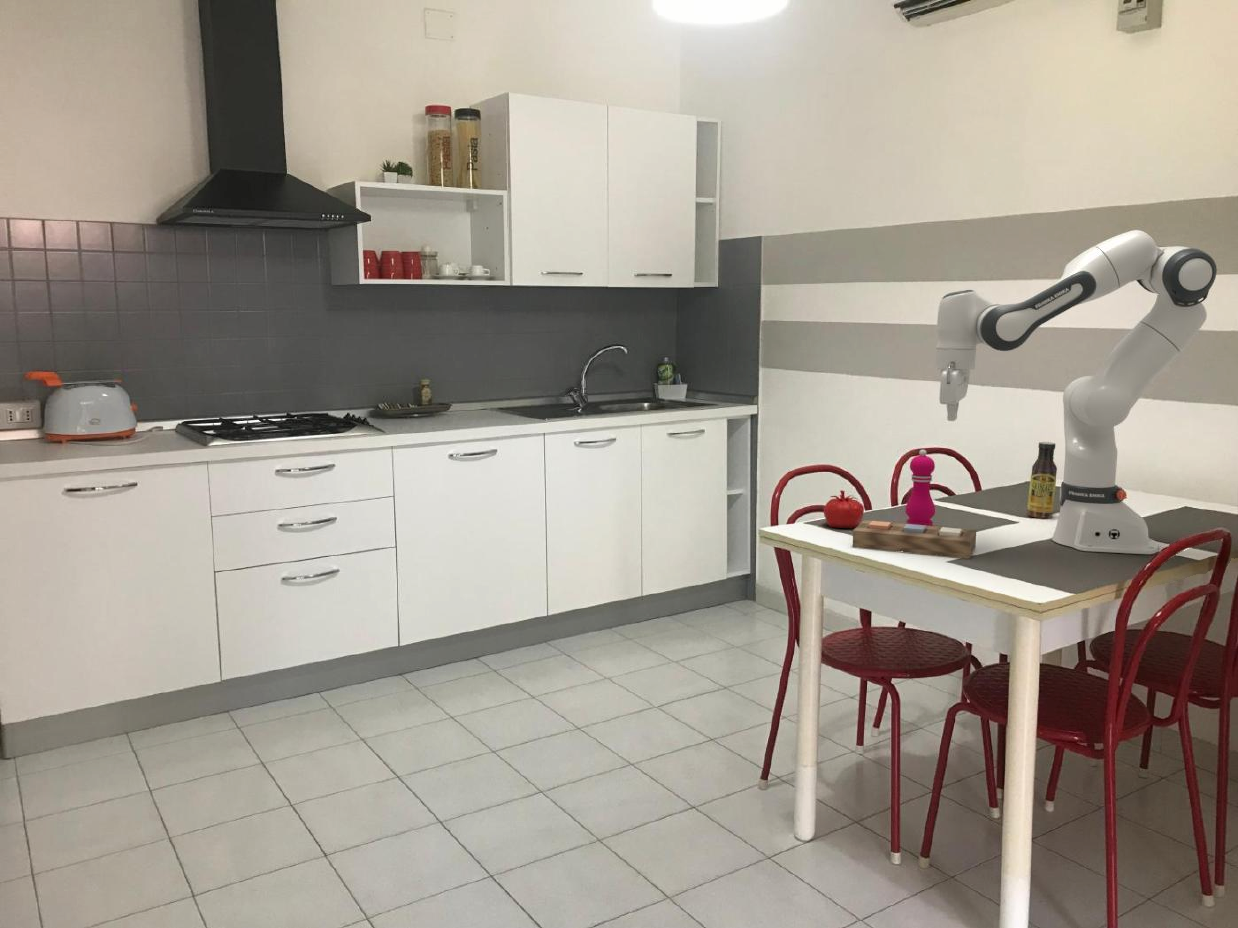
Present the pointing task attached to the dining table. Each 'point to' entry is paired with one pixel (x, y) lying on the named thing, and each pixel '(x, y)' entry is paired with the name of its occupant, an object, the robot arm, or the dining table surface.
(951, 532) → the cream button
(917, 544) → the button panel
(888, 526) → the terracotta button
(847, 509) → the red tomato
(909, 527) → the slate button
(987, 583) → the dining table surface
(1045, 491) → the sauce bottle
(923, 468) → the pepper mill
